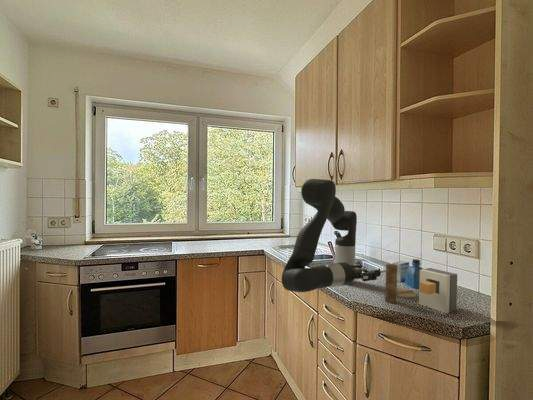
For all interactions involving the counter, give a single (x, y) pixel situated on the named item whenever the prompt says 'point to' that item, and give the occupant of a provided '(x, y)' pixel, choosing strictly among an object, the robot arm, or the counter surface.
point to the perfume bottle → (413, 274)
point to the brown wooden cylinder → (391, 283)
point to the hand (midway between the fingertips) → (370, 270)
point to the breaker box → (439, 290)
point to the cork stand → (406, 293)
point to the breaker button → (427, 287)
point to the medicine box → (401, 270)
